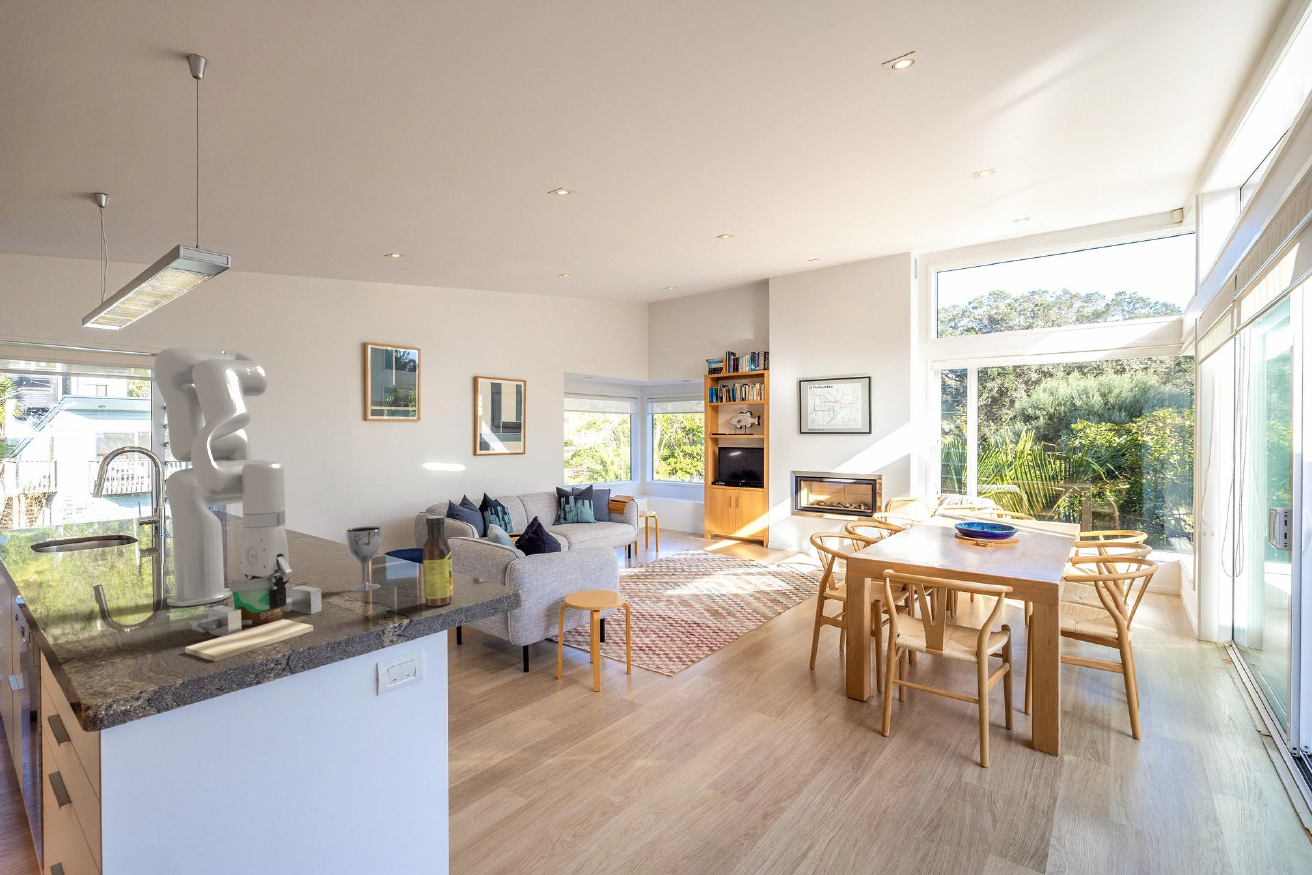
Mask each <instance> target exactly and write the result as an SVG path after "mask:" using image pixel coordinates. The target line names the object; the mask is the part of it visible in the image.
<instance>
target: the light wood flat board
mask: <svg viewBox="0 0 1312 875" xmlns="http://www.w3.org/2000/svg"><path fill="white" fill-rule="evenodd" d="M313 631H314V625H312V624H307V623H302V622H299V621H293V620H290V619H284V618H283V619H282V620H278V621H275V622H271V623H268V624H264V625H261V626H257V627H253V628H246V629H244V630H242V631H240V632H237V633H233V634H230V635H226V636H223V637H222V636H218V637H217V638H212V639H209V640H207V641H206V640H205V641H202V642H198V643H195V644H192V645H191V644H190V645H188V646H186V647H185V649H184V650H185V651H184V652H185V653H186V654H189V655H192V656H196V657H199V658H201V659H205V660H209V661H213V662H216V663H217V662H218V661H221V660H224V659H229V658H231V657H234V656H238V655H241V654H244V653H247V652H250V651H254V650H256V649H259V648H260V649H261V648H262V647H266V646H269V645H272V644H275V643H279V642H281V641H285V640H288V639H293V638H294V637H298V636H300V635H304V634H306V633H310V632H313Z"/></svg>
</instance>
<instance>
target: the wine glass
mask: <svg viewBox="0 0 1312 875" xmlns="http://www.w3.org/2000/svg"><path fill="white" fill-rule="evenodd" d="M345 532H346V533H345V534H346V543H347V548H348V551H349V553H350V554H351V556H353V557H354V558H355V559H356V560H357V561H358V562H359V563H360V566H361V568H362V574H363V583H362V584H359V585H356V586H353V587H351V588H350V589H349V591H350V592H353V593H354V592H355V593H362V592H363V593H364V592H365V593H366V592H370V591H375V590H378V589H380V588H381V587H382V586H381V585H380V584H377V583H369V582H368V567H369V564H370V562H371V560H372V559H373V558H374V556H375V555H376V554H377V552H378V551H379V549H380V546H381V540H382V527H381V526H378V525H377V526H373V525H372V526H370V525H369V526H368V525H367V526H359V527H358V526H357V527H352V528H348V529H346V531H345Z"/></svg>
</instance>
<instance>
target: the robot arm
mask: <svg viewBox="0 0 1312 875" xmlns="http://www.w3.org/2000/svg"><path fill="white" fill-rule="evenodd" d="M153 364H154V365H153V372H154V374H153V375H154V379H155V380H154V381H155V383H156V385H157V389H158V391H159V392H160V394H161V396H162V398H163V402H164V404H165V405H164V406H165V408H166V420H167V430H168V431H167V432H168V438H169V439H168V440H169V447H170V453H171V455H172V457H173V458H174V459H175V460H176V461H179V462H182V463H191V465H192V466H191V467H189V468H183V469H179V470H176V471H174V472H172V473H171V474H170V475H169V476H167V479H166V481H165V492H166V497H167V500H168V505H169V509H170V515H171V525H172V546H173V569H174V570H173V571H174V572H173V574H174V577H173V578H174V584H173V588H174V595H172V596H171V595H170V597H168V598H167V600H166V603H167V604H166V605H168V606H170V607H191V606H200V605H207V604H212V603H215V602H219V601H223V600H225V599H227V598H230V597H231V596H233V592H230V588H227V587H225V578H224V575H225V573H224V571H225V570H224V550H223V546H224V545H223V526H222V523H221V521H220V519H219V518H218V516H216V515H215V514H214V513H213V512H212V511H211V509H210V507H211V508H212V507H217V506H226V505H234V504H235V505H236V504H241V503H242V521H243V528H242V533H241V541H240V542H241V543H240V572H241V573H242V574H244V577H245V578H246V580H249V579H251V578H253V577H261V578H266V577H268V580H269V583H270V586H271V590H269V607H270V609H275V608H279V607H282V606H285V605H286V598H287V587H288V582H289V580H290V578H291V575H292V573H293V570H292V569H291V567H290V566H289V564H290V562H289V561H290V560H289V559H290V558H289V556H290V555H289V545H288V538H287V531H286V524H287V523H286V500H285V499H286V498H285V494H286V493H285V472H284V471H285V470H284V465H283V464H282V463H281V462H279V461H268V460H266V459H252V452H251V451H252V450H251V443H250V438H249V435H248V432H247V431H246V429H245V427H246V426H248V424H250V422H251V418H252V417H251V412H250V410H249V406H248V404H247V401H246V397H259V396H260V397H261V396H262V395H263V394H265V392H266V391H267V388H268V383H269V382H268V376H267V373H266V371H265V368H264V367H263V366H262V364H260V363H259V362H258V361H256V360H255V359H253V358H251V357H249V356H247V355H246V354H243V353H240V352H238V351H233V350H223V349H208V348H198V347H168V348H164V349H161V350H160V351H159V352H158V353H157V354H156V356H155V359H154V363H153ZM274 572H275V574H273V573H274ZM275 577H278V579H277V580H276V582H275V579H274V578H275Z"/></svg>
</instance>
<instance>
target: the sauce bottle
mask: <svg viewBox="0 0 1312 875" xmlns="http://www.w3.org/2000/svg"><path fill="white" fill-rule="evenodd" d="M445 522H446V518H445V516H444V515H435V516H433V515H432V516H427V517H426V519H425V524H426V525H427V526H426V527H427V528H426V529H427V530H426V531H427V534H426V535H427V539H426V541H425V542H424V544H423V547H422V557H423V558H422V570H423V572H422V573H423V590H424V591H423V592H424V596H423V597H424V600H425V605H426V606H427V607H441V606H446V605H448V604H451V603H452V602H453V600H454V599H453V595H454V584H453V583H454V581H453V580H454V578H453V560H452V559H453V557H452V548H451V546H450V543H449V541H448V540H449V539H448V538H447V535H446V531H445Z"/></svg>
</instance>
